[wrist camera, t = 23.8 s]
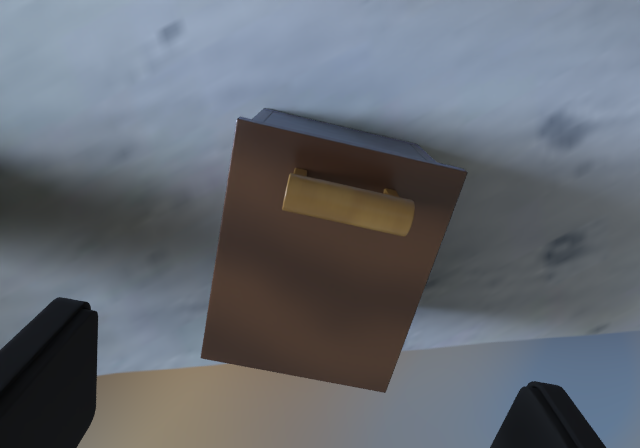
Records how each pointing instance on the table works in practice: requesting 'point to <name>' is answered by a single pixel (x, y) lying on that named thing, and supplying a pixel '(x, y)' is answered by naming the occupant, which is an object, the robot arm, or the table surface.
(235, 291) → the lid
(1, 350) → the robot arm
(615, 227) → the table surface
